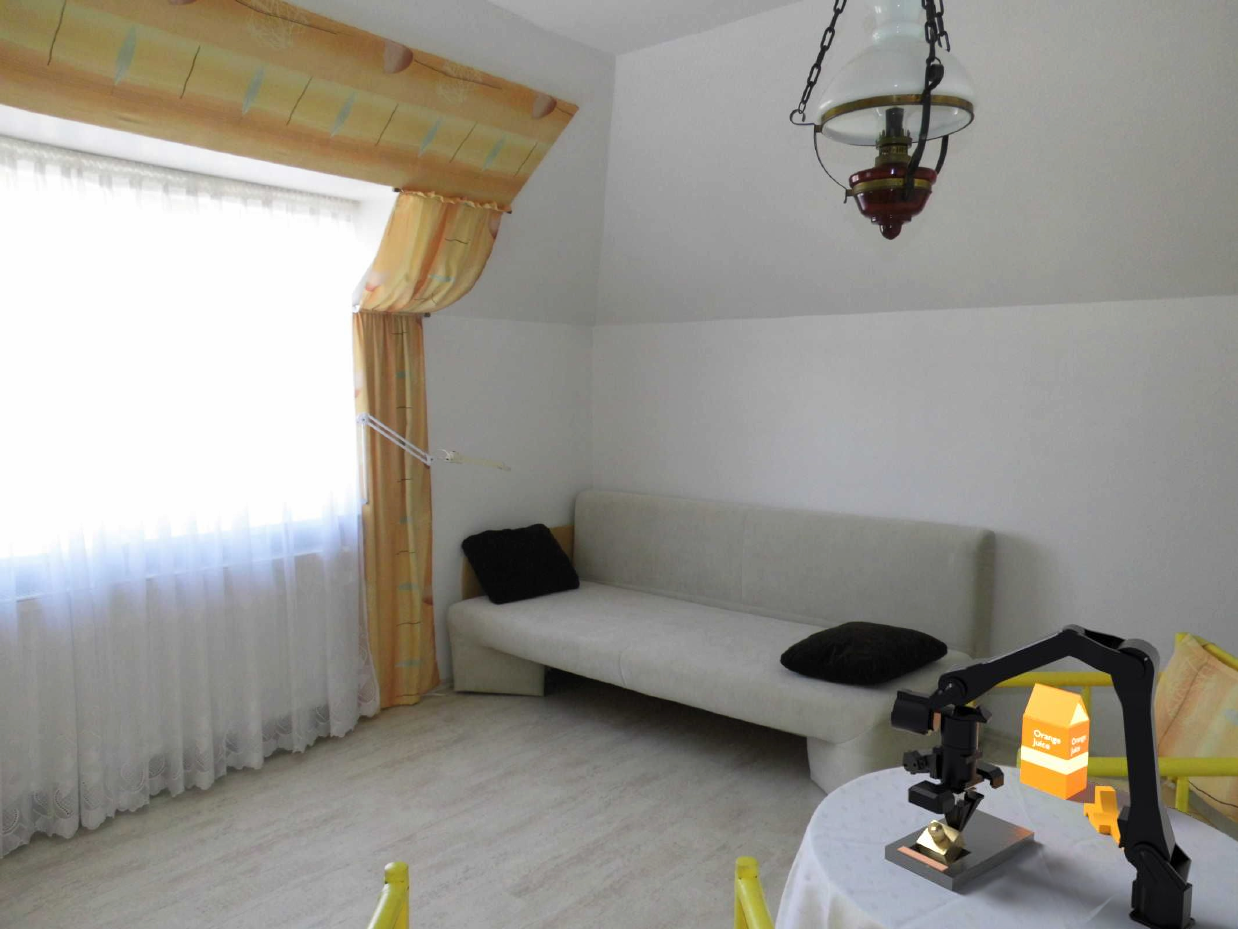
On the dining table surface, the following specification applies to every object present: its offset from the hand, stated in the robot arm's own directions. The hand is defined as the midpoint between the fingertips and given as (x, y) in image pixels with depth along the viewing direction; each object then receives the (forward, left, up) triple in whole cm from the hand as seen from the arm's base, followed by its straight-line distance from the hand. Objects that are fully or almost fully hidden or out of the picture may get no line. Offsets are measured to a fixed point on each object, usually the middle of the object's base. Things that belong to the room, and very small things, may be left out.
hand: (954, 836), depth 146 cm
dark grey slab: (0, -2, -3) cm, 3 cm away
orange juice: (+2, -36, -3) cm, 36 cm away
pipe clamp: (-13, -27, -3) cm, 30 cm away
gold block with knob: (0, +2, -2) cm, 3 cm away
